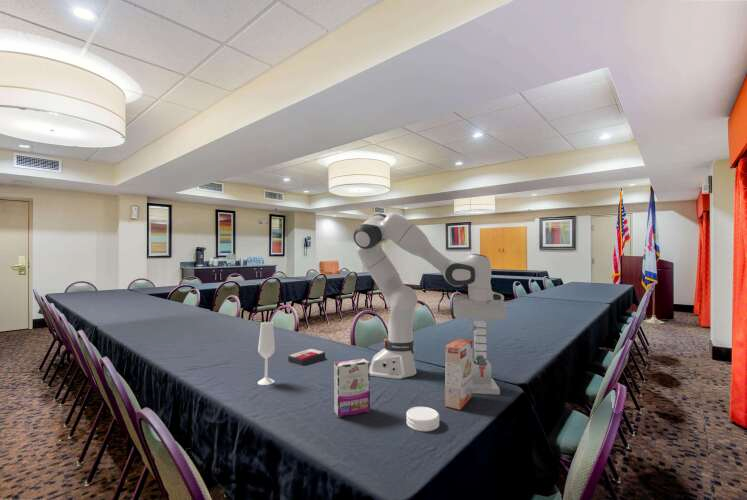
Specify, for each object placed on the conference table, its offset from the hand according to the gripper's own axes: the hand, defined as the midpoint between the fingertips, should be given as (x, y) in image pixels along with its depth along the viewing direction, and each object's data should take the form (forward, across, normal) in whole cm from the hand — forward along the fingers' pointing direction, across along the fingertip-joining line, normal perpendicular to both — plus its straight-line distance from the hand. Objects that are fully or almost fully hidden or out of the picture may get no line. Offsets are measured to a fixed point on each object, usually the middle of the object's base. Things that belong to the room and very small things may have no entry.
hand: (480, 330), depth 135 cm
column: (+17, 0, 0) cm, 17 cm away
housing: (+23, 0, 0) cm, 23 cm away
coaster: (+23, -23, -33) cm, 46 cm away
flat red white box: (+23, -79, +28) cm, 87 cm away
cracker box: (+23, -10, -15) cm, 29 cm away
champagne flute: (+23, -86, -5) cm, 89 cm away
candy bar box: (+23, -46, -28) cm, 59 cm away
